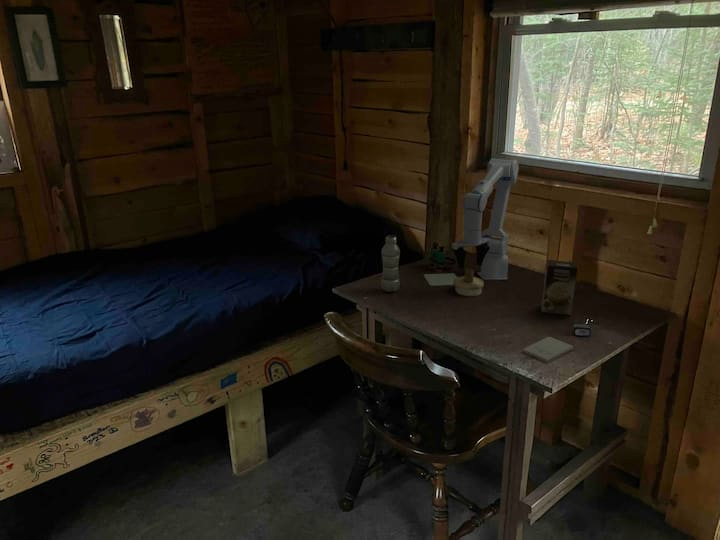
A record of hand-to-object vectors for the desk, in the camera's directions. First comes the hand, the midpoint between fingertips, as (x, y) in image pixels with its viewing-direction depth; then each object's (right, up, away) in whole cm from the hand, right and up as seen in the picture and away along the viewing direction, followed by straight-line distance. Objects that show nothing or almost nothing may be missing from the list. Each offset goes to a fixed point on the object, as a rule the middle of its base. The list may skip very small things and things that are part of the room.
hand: (470, 266), depth 194 cm
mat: (-7, -5, +15) cm, 17 cm away
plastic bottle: (-27, -9, +5) cm, 29 cm away
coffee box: (+26, -14, -11) cm, 32 cm away
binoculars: (-6, -1, +27) cm, 28 cm away
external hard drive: (+14, -24, -38) cm, 47 cm away
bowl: (0, -9, +3) cm, 10 cm away
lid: (0, -6, +2) cm, 7 cm away
